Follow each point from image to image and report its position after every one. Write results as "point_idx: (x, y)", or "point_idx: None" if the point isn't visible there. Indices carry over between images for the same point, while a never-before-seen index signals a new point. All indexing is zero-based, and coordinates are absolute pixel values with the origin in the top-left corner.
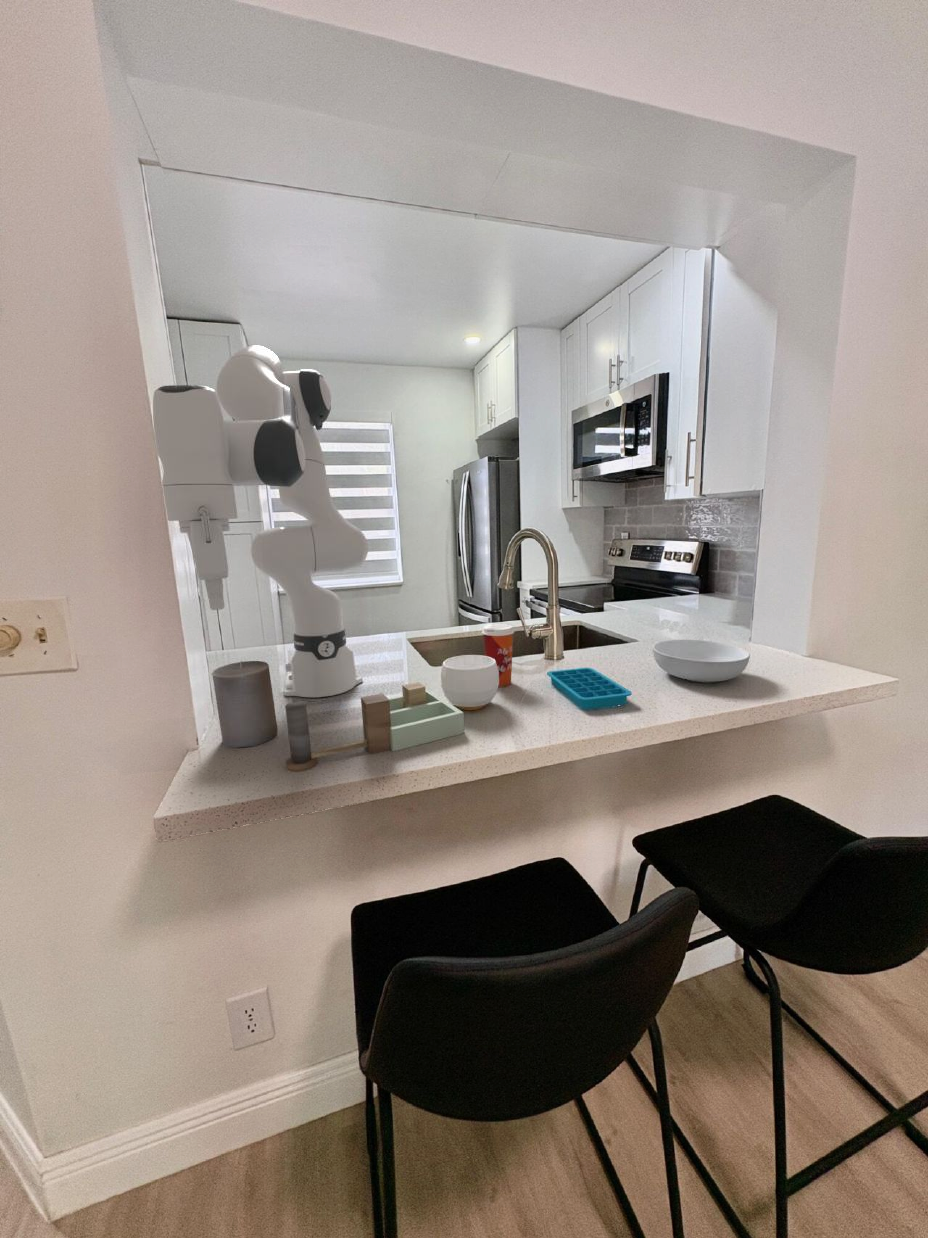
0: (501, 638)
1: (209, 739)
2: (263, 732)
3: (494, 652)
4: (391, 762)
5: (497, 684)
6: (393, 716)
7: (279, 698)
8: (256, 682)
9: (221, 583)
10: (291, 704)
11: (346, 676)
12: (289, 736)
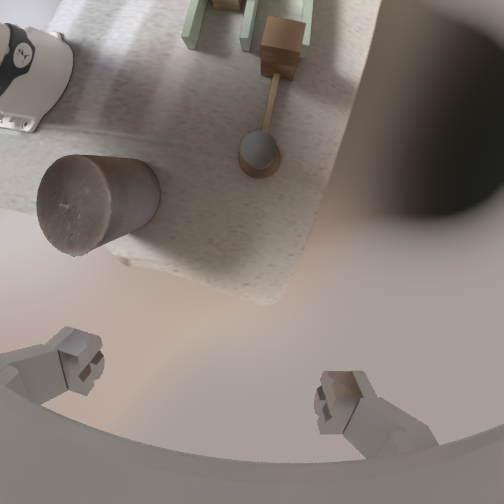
0: None
1: None
2: (153, 182)
3: None
4: (330, 74)
5: None
6: (251, 22)
7: (34, 139)
8: (117, 185)
9: (427, 433)
10: (251, 153)
11: (56, 45)
12: (261, 168)
